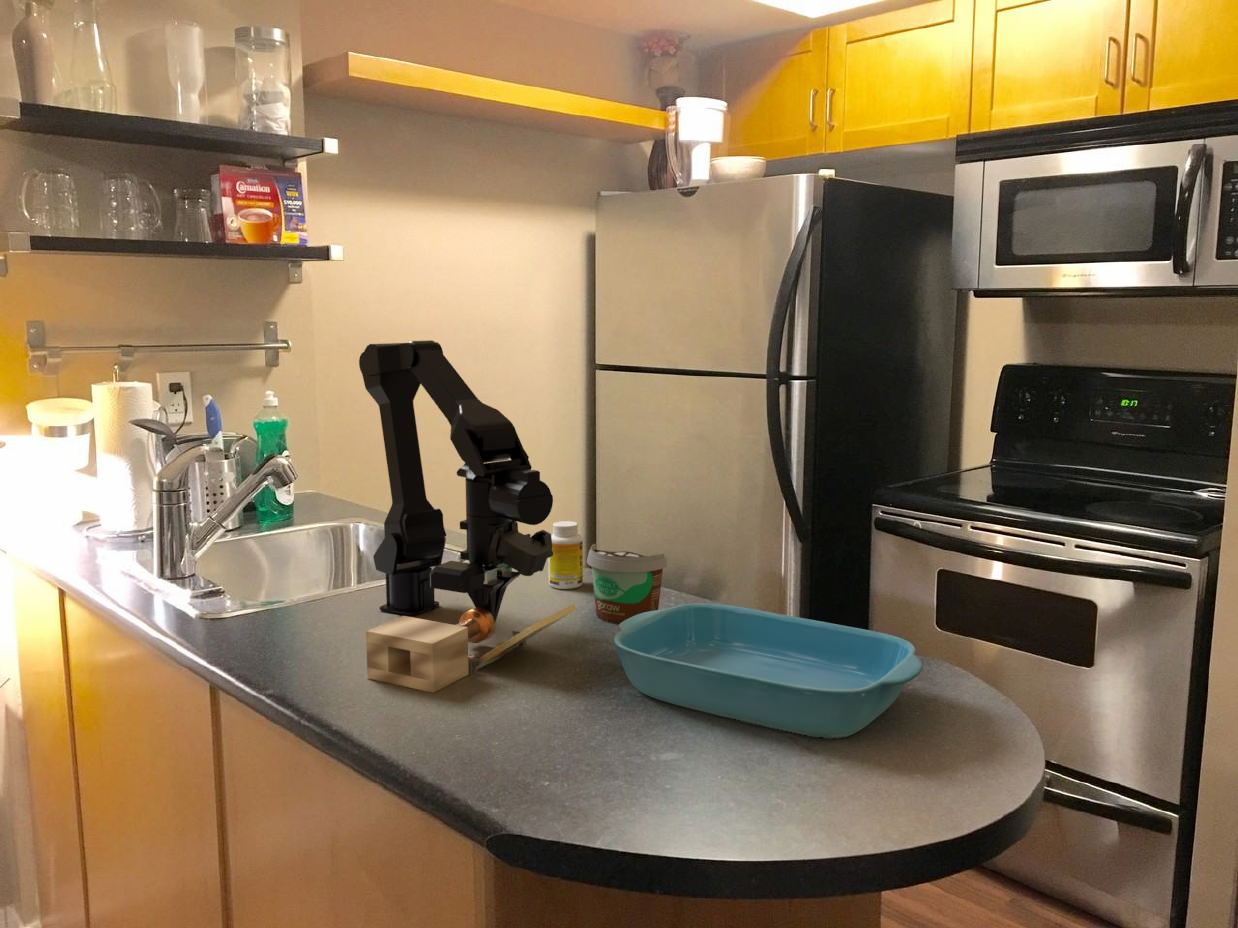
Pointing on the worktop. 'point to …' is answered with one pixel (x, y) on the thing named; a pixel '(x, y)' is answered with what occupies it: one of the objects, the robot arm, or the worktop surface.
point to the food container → (625, 583)
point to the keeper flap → (525, 635)
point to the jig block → (417, 653)
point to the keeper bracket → (473, 658)
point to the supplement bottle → (566, 556)
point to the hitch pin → (478, 624)
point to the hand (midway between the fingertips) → (489, 626)
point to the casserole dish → (766, 667)
